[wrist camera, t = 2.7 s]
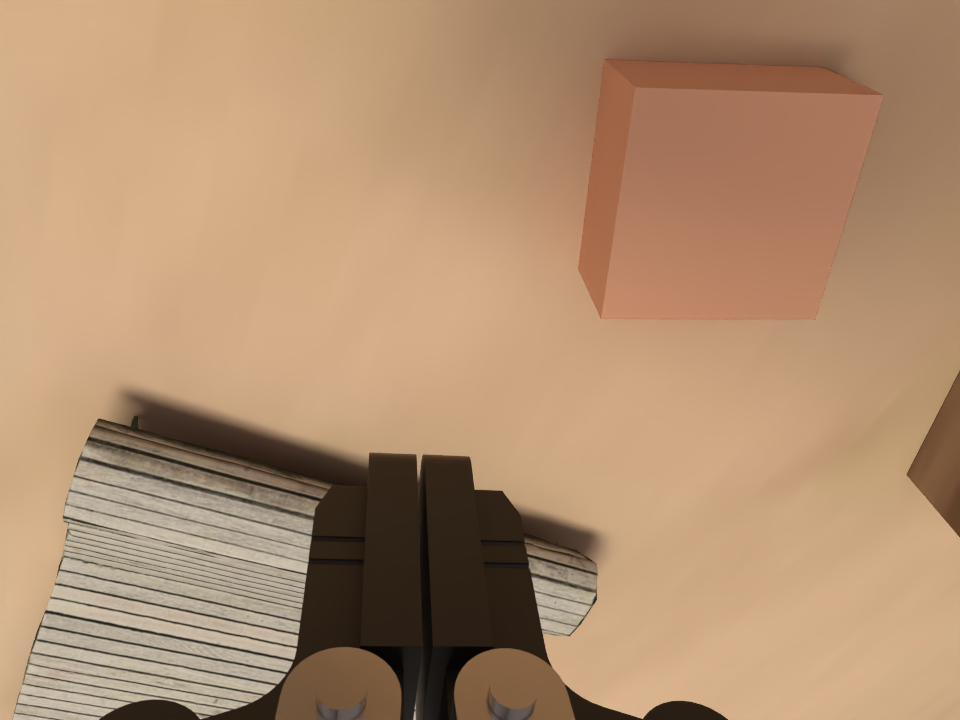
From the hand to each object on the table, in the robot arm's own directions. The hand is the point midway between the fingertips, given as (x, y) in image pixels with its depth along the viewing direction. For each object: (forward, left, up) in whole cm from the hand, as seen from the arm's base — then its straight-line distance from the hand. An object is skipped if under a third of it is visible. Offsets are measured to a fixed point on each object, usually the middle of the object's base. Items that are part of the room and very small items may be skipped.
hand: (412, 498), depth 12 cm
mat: (-4, -26, -20) cm, 33 cm away
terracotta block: (+11, 0, -19) cm, 22 cm away
